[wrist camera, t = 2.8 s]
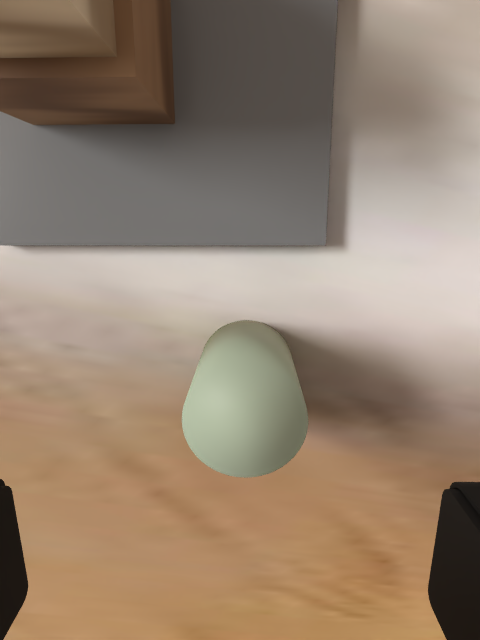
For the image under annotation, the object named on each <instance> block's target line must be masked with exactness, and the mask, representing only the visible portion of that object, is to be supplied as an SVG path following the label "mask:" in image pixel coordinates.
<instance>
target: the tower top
mask: <svg viewBox="0 0 480 640" xmlns="http://www.w3.org/2000/svg"><path fill="white" fill-rule="evenodd" d="M53 57H117V52H116V36H115V21H114V6H113V0H0V58H53Z"/></svg>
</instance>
